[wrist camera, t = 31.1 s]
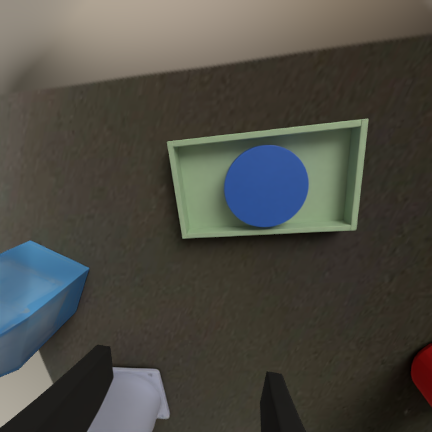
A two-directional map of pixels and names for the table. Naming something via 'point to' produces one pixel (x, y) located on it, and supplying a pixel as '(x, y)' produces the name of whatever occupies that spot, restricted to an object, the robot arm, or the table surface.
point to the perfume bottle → (34, 300)
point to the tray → (287, 138)
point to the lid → (266, 185)
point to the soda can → (423, 372)
